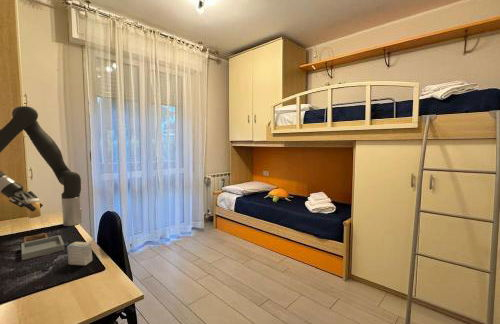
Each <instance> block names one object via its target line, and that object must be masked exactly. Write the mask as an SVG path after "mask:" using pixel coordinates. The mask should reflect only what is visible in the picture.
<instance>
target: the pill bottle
mask: <svg viewBox="0 0 500 324" xmlns="http://www.w3.org/2000/svg"><path fill="white" fill-rule="evenodd" d="M27 201H28V202H29V203H30V204H32V205H33V206H34V207H36V210H34V211H31V210H29V209H28V208H27V207H26V211H27V212H26V213H27V218H28V219H34V218H39V217H41V216H42V213H41V208H40V203H41V201H40V198H39V197H38V198H35V197H34V198H33V199H28V200H27Z"/></svg>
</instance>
